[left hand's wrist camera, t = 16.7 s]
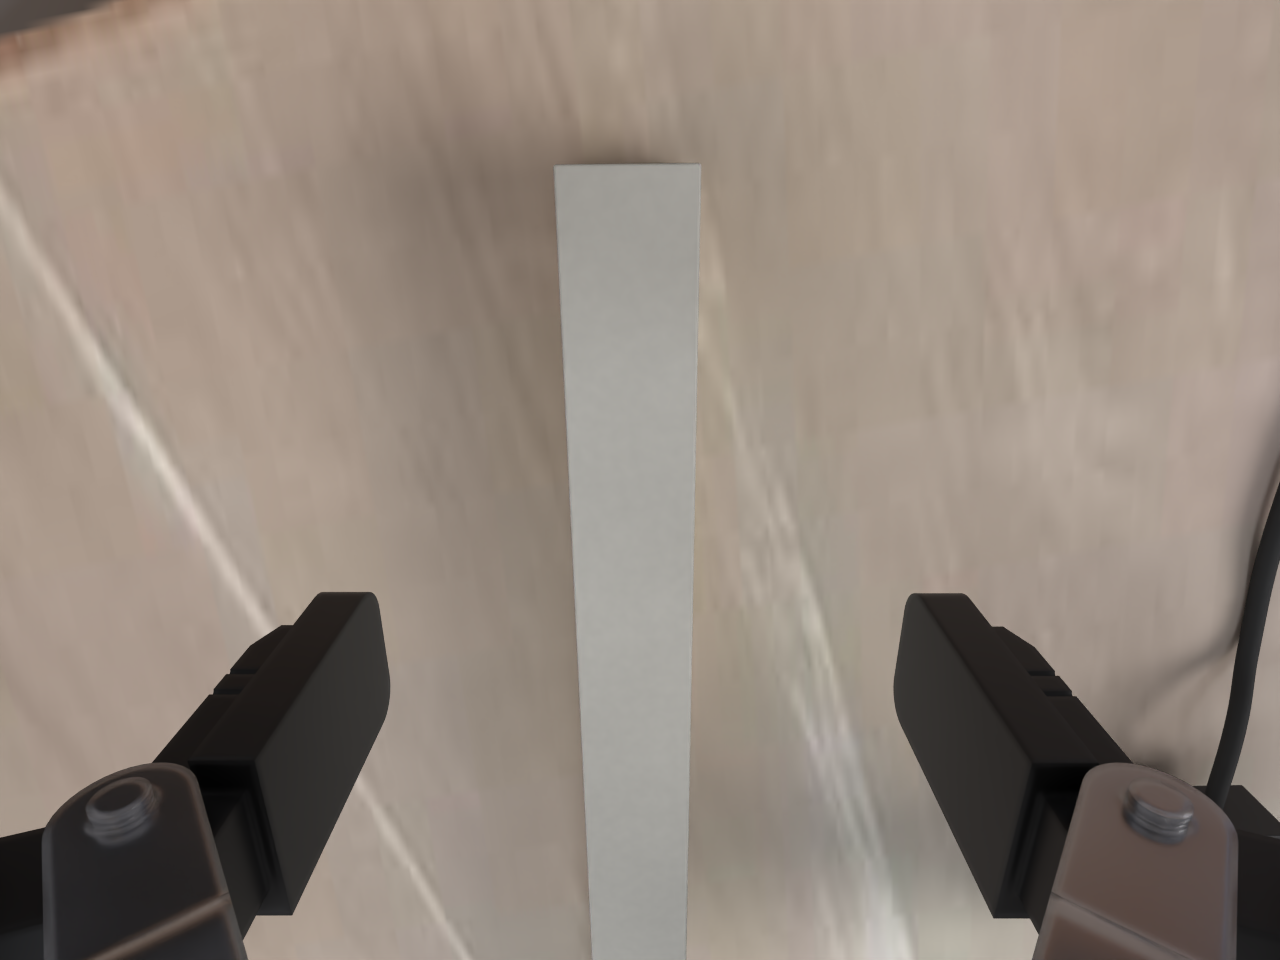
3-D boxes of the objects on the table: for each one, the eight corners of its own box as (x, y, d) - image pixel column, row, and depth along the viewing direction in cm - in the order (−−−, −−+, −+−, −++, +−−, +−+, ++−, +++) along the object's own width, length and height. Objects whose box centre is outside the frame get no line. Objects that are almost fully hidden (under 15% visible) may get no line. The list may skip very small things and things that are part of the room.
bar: (570, 168, 28) (552, 164, 22) (685, 166, 28) (701, 162, 22) (614, 1244, 56) (612, 1381, 49) (672, 1242, 56) (678, 1379, 49)
